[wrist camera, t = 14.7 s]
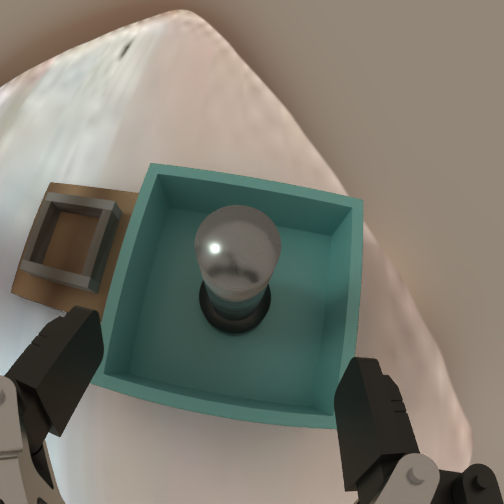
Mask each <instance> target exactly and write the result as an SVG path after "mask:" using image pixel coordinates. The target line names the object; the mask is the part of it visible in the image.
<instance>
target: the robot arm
mask: <svg viewBox="0 0 504 504" xmlns="http://www.w3.org/2000/svg"><path fill="white" fill-rule="evenodd" d="M103 355H104V343H103V337H102V330H101V323H100V316H99V313H98V311H96V310H93V309H89V308H85V307H82V306H78V305H75V306H74V307H73V308H72V309H71V310H70V311H69V312H68V313H67V315H66V316H65V317H61V316H60V317H58V318H56V319H54V320H53V321H51V322H49V323H48V324H47V325H46V326H45V327H44V328H43V329H42V330H41V332H40V333H39V335H38V336H36V337H35V339H34V340H33V341H32V344H30V345H29V346H28V347H27V348H26V349H25V351H24V352H23V353H22V354H21V356H20V357H19V358H18V359H17V361H16V362H15V363H14V364H13V366H12V367H11V368H10V370H9V371H8V372H7V373H6V374H5V376H0V504H65V502H64V500H63V499H62V497H61V495H60V492H59V489H58V486H57V483H56V479H55V476H54V472H53V469H52V465H51V461H50V457H49V453H48V449H47V445H46V441H45V438H46V436H47V434H48V432H50V433H52V434H54V435H56V436H58V437H61V435H62V433H63V431H64V429H65V427H66V425H67V423H68V422H69V420H70V418H71V416H72V414H73V412H74V410H75V409H76V407H77V405H78V403H79V401H80V399H81V398H82V396H83V394H84V392H85V390H86V389H87V387H88V385H89V383H90V382H91V380H92V378H93V376H94V375H95V373H96V371H97V369H98V368H99V366H100V364H101V362H102V359H103ZM402 401H403V399H402V396H401V394H400V391H399V388H398V386H397V385H396V384H395V382H394V381H393V380H392V379H391V378H390V376H389V375H383V374H382V371H381V368H380V365H379V362H378V361H377V359H374V358H361V357H353V358H352V359H351V360H350V362H349V364H348V366H347V368H346V370H345V372H344V374H343V376H342V378H341V380H340V382H339V384H338V386H337V389H336V391H335V395H334V411H335V418H336V425H337V432H338V439H339V447H340V454H341V462H342V470H343V479H344V488H345V492H346V491H358V499H357V500H356V501H355V502H354V504H503V500H502V497H501V493H500V489H499V486H498V483H497V480H496V477H495V474H494V473H493V471H492V470H491V469H490V468H489V467H487V466H486V465H483V464H473V465H471V466H469V467H468V468H467V469H466V470H465V471H464V472H462V473H459V472H451V471H445V470H440V469H438V467H437V465H436V464H435V462H434V461H433V460H432V459H430V458H429V457H427V456H425V455H423V454H420V452H419V449H418V445H417V442H416V439H415V436H414V433H413V429H412V426H411V423H410V420H409V417H408V414H407V413H406V408H405V405H404V403H402Z"/></svg>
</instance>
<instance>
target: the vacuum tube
mask: <svg viewBox="0 0 504 504" xmlns="http://www.w3.org/2000/svg"><path fill="white" fill-rule="evenodd" d="M194 247H195V254H196V258H197V261H198V264H199V267H200V271H201V274H202V277H203V281H202V284H201V286H200V290H199V303H200V307H201V310H202V312H203V314H204V316H205V318H206V320H207V321H208V323H209V324H210V325H211V326H212V327H213V328H214V329H215V330H216V331H218V332H219V333H221V334H224V335H227V336H242V335H246V334H248V333H250V332H252V331H253V330H255V329H256V328H257V327H258V326H259V325H260V323H261V322H262V320H263V319H264V317H265V316H266V314H267V312H268V310H269V308H270V304H271V291H270V287H269V284H268V283H269V281H270V278H271V276H272V274H273V272H274V269H275V267H276V265H277V262H278V260H279V257H280V253H281V238H280V234H279V232H278V229H277V227H276V226H275V224H274V223H273V221H272V220H271V219H270V218H269V217H268V216H267V215H266V214H264V213H263V212H261V211H259V210H257V209H255V208H252V207H249V206H244V205H231V206H226V207H223V208H220V209H218V210H216V211H214V212H213V213H211V214H210V215H209V216H207V217H206V218H205V219H204V221H203V222H202V223H201V225H200V226H199V228H198V230H197V233H196V236H195V245H194Z"/></svg>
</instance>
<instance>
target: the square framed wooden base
mask: <svg viewBox="0 0 504 504" xmlns="http://www.w3.org/2000/svg"><path fill="white" fill-rule="evenodd" d="M138 195H139V193H133V192H126V191H119V190H111V189H103V188H95V187H87V186H79V185H70V184H62V183H53V182H50V184H49V186H48V189H47V191H46V193H45V195H44V198H43V200H42V202H41V205H40V207H39V210H38V212H37V215H36V217H35V220H34V222H33V225H32V228H31V230H30V233H29V236H28V238H27V241H26V244H25V247H24V250H23V253H22V256H21V259H20V262H19V265H18V269H17V272H16V275H15V279H14V282H13V286H12V290H11V293H13V294H16V295H18V296H21V297H23V298H26V299H29V300H32V301H35V302H37V303H40V304H43V305H46V306H49V307H52V308H55V309H58V310H61V311H65V312H69V311H70V310H71V309H72V308H73V307H74V306H75V305H78V306H82V307H85V308H89V309H93V310H96V311H98V313H99V316H100V322H102V318H103V314H104V309H105V305H106V301H107V297H108V293H109V289H110V286H111V282H112V278H113V274H114V271H115V267H116V264H117V260H118V257H119V253H120V250H121V247H122V244H123V240H124V237H125V234H126V231H127V228H128V225H129V222H130V218H131V215H132V213H133V210H134V207H135V204H136V201H137V198H138Z"/></svg>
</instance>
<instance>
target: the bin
mask: <svg viewBox="0 0 504 504" xmlns="http://www.w3.org/2000/svg"><path fill="white" fill-rule="evenodd" d="M231 205H244V206H249V207H252V208H255V209H257V210H259V211H261V212H263V213H264V214H266V215H267V216H268V217H269V218H270V219H271V220H272V221H273V223H274V224H275V226H276V227H277V229H278V232H279V234H280V238H281V253H280V257H279V260H278V262H277V265H276V267H275V269H274V272H273V274H272V276H271V278H270V281H269V283H268V284H269V287H270V291H271V304H270V308H269V310H268V312H267V314H266V316H265V317H264V319H263V320H262V322H261V323H260V325H259V326H258V327H257V328H256V329H255V330H253V331H252V332H250V333H248V334H246V335H242V336H227V335H224V334H221V333H219V332H218V331H216V330H215V329H214V328H213V327H212V326H211V325H210V324H209V323H208V321H207V320H206V318H205V316H204V314H203V312H202V310H201V307H200V303H199V290H200V286H201V284H202V281H203V277H202V274H201V271H200V267H199V264H198V261H197V258H196V254H195V247H194V245H195V236H196V233H197V230H198V228H199V226H200V225H201V223H202V222H203V221H204V219H205V218H206V217H207V216H209V215H210V214H211V213H213V212H214V211H216V210H218V209H220V208H223V207H226V206H231ZM362 252H363V200H361V199H357V198H352V197H348V196H344V195H339V194H334V193H330V192H325V191H320V190H316V189H311V188H306V187H301V186H296V185H290V184H285V183H280V182H275V181H269V180H263V179H258V178H252V177H246V176H240V175H234V174H228V173H221V172H215V171H208V170H201V169H194V168H187V167H179V166H171V165H163V164H155V163H150V166H149V168H148V171H147V174H146V176H145V179H144V182H143V184H142V187H141V190H140V192H139V195H138V198H137V201H136V204H135V207H134V210H133V213H132V215H131V218H130V222H129V225H128V228H127V231H126V234H125V237H124V240H123V244H122V247H121V250H120V253H119V257H118V260H117V264H116V267H115V271H114V274H113V278H112V282H111V286H110V289H109V293H108V297H107V301H106V305H105V309H104V314H103V318H102V322H101V330H102V337H103V343H104V355H103V359H102V362H101V364H100V366H99V368H98V369H97V371H96V373H95V375H94V376H93V378H92V380H91V382H90V383H92V384H94V385H97V386H100V387H103V388H106V389H110V390H113V391H116V392H119V393H122V394H126V395H129V396H133V397H136V398H140V399H143V400H147V401H151V402H155V403H158V404H162V405H167V406H171V407H175V408H179V409H184V410H188V411H193V412H198V413H203V414H208V415H213V416H219V417H225V418H230V419H237V420H243V421H250V422H258V423H265V424H274V425H283V426H294V427H306V428H322V429H337V425H336V418H335V411H334V395H335V391H336V389H337V386H338V384H339V382H340V380H341V378H342V376H343V374H344V372H345V370H346V368H347V366H348V364H349V362H350V360H351V359H352V358H353V357H355V348H356V339H357V329H358V318H359V306H360V292H361V275H362Z"/></svg>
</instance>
